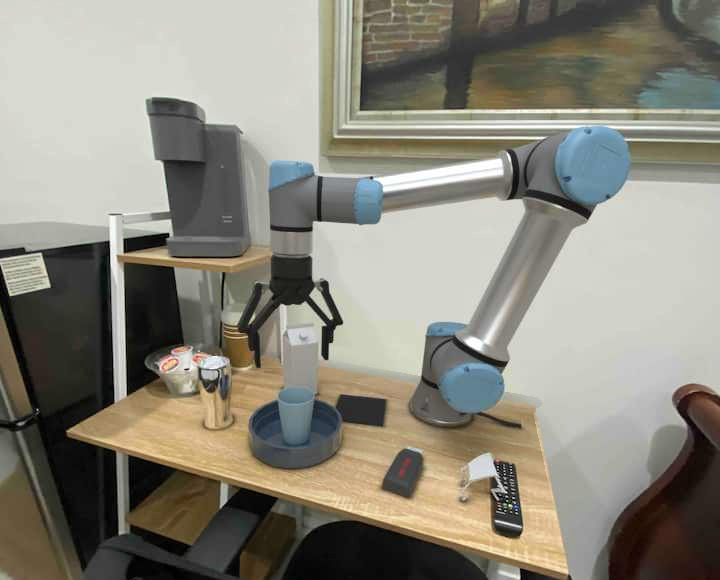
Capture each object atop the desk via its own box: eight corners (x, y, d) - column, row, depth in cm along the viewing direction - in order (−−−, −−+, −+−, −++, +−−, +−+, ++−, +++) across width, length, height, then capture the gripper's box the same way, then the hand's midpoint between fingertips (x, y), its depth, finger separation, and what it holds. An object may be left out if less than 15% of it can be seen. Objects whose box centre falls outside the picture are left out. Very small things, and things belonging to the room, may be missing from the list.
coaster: (385, 400, 102) (385, 399, 102) (382, 426, 91) (382, 424, 90) (340, 395, 103) (340, 394, 103) (331, 420, 92) (331, 418, 92)
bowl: (347, 420, 92) (348, 402, 90) (331, 476, 74) (332, 454, 72) (268, 411, 94) (267, 392, 92) (234, 463, 76) (232, 441, 74)
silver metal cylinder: (203, 433, 85) (196, 370, 79) (202, 416, 91) (195, 357, 85) (236, 427, 87) (232, 366, 82) (233, 411, 93) (229, 354, 88)
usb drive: (381, 488, 72) (383, 476, 71) (402, 452, 82) (403, 441, 81) (409, 498, 70) (410, 486, 69) (426, 459, 80) (427, 448, 79)
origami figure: (503, 515, 67) (508, 493, 65) (454, 500, 70) (458, 478, 68) (505, 472, 78) (510, 452, 76) (463, 461, 80) (466, 441, 79)
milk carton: (283, 387, 105) (282, 321, 99) (307, 383, 109) (308, 318, 102) (291, 399, 100) (291, 330, 93) (317, 394, 103) (318, 326, 96)
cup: (319, 444, 82) (319, 400, 78) (283, 452, 79) (281, 407, 75) (308, 424, 89) (308, 383, 85) (274, 431, 86) (273, 389, 82)
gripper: (348, 250, 78) (344, 348, 86) (217, 251, 69) (225, 360, 76) (363, 257, 72) (356, 361, 79) (220, 258, 63) (228, 377, 70)
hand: (292, 361), depth 78 cm, fingers open, 13 cm apart
